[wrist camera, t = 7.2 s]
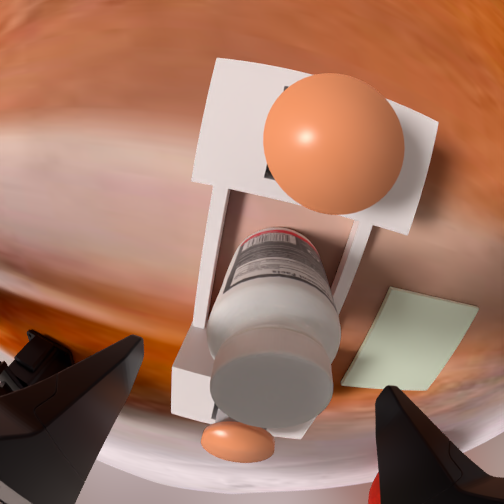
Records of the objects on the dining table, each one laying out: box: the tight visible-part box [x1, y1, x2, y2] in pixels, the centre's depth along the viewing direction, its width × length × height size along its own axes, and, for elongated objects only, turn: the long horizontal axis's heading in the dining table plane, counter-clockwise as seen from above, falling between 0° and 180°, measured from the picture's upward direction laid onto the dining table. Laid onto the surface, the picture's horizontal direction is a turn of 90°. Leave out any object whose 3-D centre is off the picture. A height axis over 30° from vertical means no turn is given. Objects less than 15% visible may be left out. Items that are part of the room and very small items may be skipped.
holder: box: [171, 58, 439, 439], centre depth 15 cm, size 20×9×5 cm, turn 168°
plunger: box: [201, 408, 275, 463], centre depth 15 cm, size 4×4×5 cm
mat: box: [341, 287, 479, 390], centre depth 18 cm, size 9×9×1 cm
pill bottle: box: [207, 227, 341, 428], centre depth 13 cm, size 5×5×10 cm
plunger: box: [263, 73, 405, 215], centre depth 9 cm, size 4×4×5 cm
